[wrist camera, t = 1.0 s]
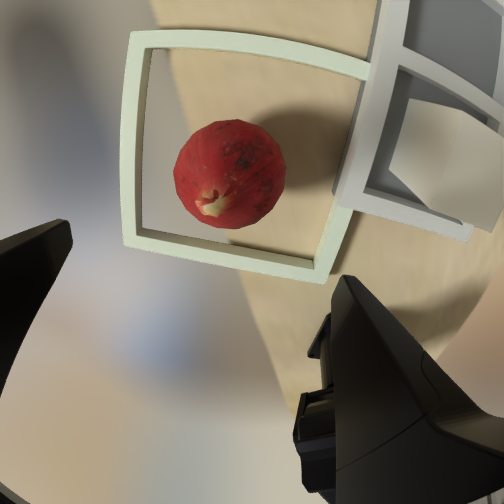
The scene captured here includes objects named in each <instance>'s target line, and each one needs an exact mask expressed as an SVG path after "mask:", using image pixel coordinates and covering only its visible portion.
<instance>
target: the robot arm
mask: <svg viewBox="0 0 504 504" xmlns="http://www.w3.org/2000/svg"><path fill="white" fill-rule="evenodd" d="M72 245H73V239H72V235H71V228H70V223H69V222H68V221H67V220H63V219H56V220H53V221H51V222H48V223H45V224H42V225H39V226H36V227H34V228H31V229H28V230H26V231H23V232H20V233H18V234H15V235H12V236H10V237H8V238H5V239H3V240H0V397H1V394H2V391H3V388H4V385H5V383H6V379H7V377H8V375H9V372H10V369H11V367H12V365H13V362H14V360H15V358H16V355H17V353H18V351H19V349H20V346H21V344H22V342H23V340H24V338H25V336H26V334H27V332H28V330H29V328H30V325H31V324H32V322H33V319H34V318H35V316H36V314H37V312H38V310H39V308H40V307H41V305H42V303H43V301H44V299H45V298H46V296H47V294H48V292H49V291H50V289H51V287H52V285H53V284H54V282H55V280H56V278H57V276H58V274H59V272H60V270H61V268H62V266H63V264H64V262H65V260H66V258H67V256H68V254H69V252H70V250H71V248H72ZM423 350H424V349H423V347H422V346H421V345H420V344H419V343H418V342H417V341H416V340H415V339H414V337H413V336H412V335H411V334H410V333H409V332H408V331H407V330H406V329H405V328H404V327H403V326H402V324H401V323H400V322H399V321H398V320H397V319H396V318H395V317H394V316H393V315H392V314H391V313H390V312H389V311H388V310H387V309H386V307H385V306H384V305H383V304H382V303H381V302H380V301H379V300H378V299H377V298H376V297H375V296H374V295H373V294H372V293H371V292H370V291H369V290H368V289H367V288H366V287H365V286H364V285H363V284H362V283H361V282H360V281H359V280H358V279H357V278H356V277H355V276H350V275H345V274H344V275H342V276H341V277H340V279H339V282H338V284H337V286H336V288H335V290H334V293H333V295H332V299H331V313H330V314H328V315H327V316H326V317H325V319H324V321H323V323H322V325H321V327H320V329H319V331H318V333H317V335H316V337H315V339H314V341H313V343H312V345H311V346H310V348H309V350H308V353H307V354H308V357H309V358H314V359H320V365H321V378H322V389H321V390H317V391H314V392H310V393H308V392H306V393H302V394H301V397H300V402H299V406H298V411H297V416H296V420H295V425H294V430H293V442H294V444H295V447H296V450H297V452H298V454H299V456H300V458H301V468H302V484H303V485H304V487H305V488H306V490H307V491H308V492H309V493H316V492H318V493H319V494H320V495H321V496H322V497H323V498H324V499H325V500H326V501H327V502H328V503H329V504H504V418H501V417H496V416H493V415H490V414H488V413H486V412H484V411H483V410H482V409H480V408H479V407H478V406H477V405H476V404H475V403H474V402H473V401H472V400H471V399H470V397H469V396H468V395H467V394H466V393H465V392H464V391H463V390H462V389H461V388H460V387H459V386H458V385H457V384H456V383H455V382H454V381H453V380H452V379H451V378H450V377H449V376H448V375H447V374H446V373H445V372H444V371H443V370H442V369H441V368H440V367H439V365H438V364H437V363H436V362H435V361H434V360H433V359H432V358H431V356H430V355H429V354H428V353H427V352H426V351H425V350H424V351H423ZM0 504H30V503H28V502H27V501H25V500H24V499H22V498H21V497H19V496H18V495H17V494H15V493H14V492H13V491H11V490H10V489H9V488H7V487H6V486H5V485H3V484H2V483H1V482H0Z"/></svg>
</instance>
